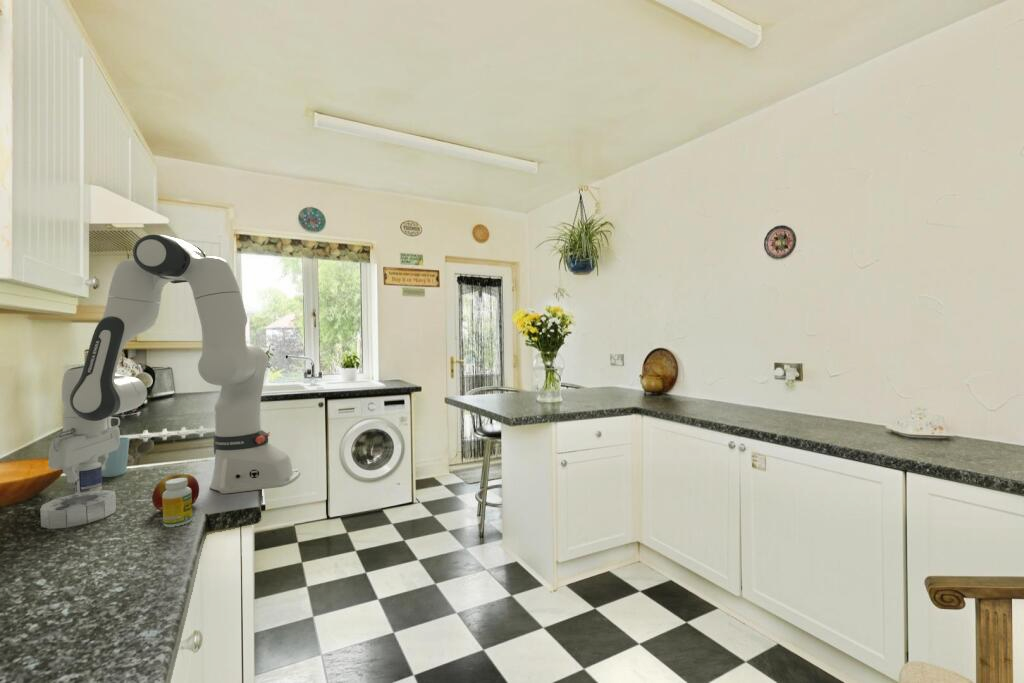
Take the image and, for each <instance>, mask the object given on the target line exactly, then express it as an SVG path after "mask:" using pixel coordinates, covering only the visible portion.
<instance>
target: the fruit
mask: <svg viewBox="0 0 1024 683" xmlns="http://www.w3.org/2000/svg"><path fill="white" fill-rule="evenodd" d="M176 478H187V480H188V484H187V486H186V487H189V488H191V491H192V505H194V504H195V503H196V501H197V500H198V498H199V495H200V485H199V482H198V480H197V479H196V477H194V475H191V474H187V473H177V474H171V475H168V476H165V477H164V478H162V479H161V480H160V481H158V483H157V484H156V486H155V488H154V490H152V491H153V492H152V494H151V495H152V496H151V498H152V499H151V500H152V505H153V506H154V507H155V509H157V510H158V511H161V512H163V504H162V495H163V493H164V492H165V491H166V490H167V489H166V488H165V483H166V482H167V481H169V480H172V479H176Z"/></svg>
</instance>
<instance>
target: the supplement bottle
mask: <svg viewBox="0 0 1024 683" xmlns="http://www.w3.org/2000/svg"><path fill="white" fill-rule="evenodd" d="M187 484H188V480H187V478H176V479H172V480H169V481H167V482H166V483H165V488H166V489H167V490H166V491H165V492H164V493H163V495H162V504H163V511H162V519H163V520H162V521H163V522H162V525H163V526H164V527H165V528H176V527H175V526H177V527H181V526H180V525H182V526H185V525H187V524H188V523H191V522H192V520H193V517H194V516H193V504H192V491H191V488H189V487H186V486H187ZM184 524H185V525H184Z"/></svg>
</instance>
